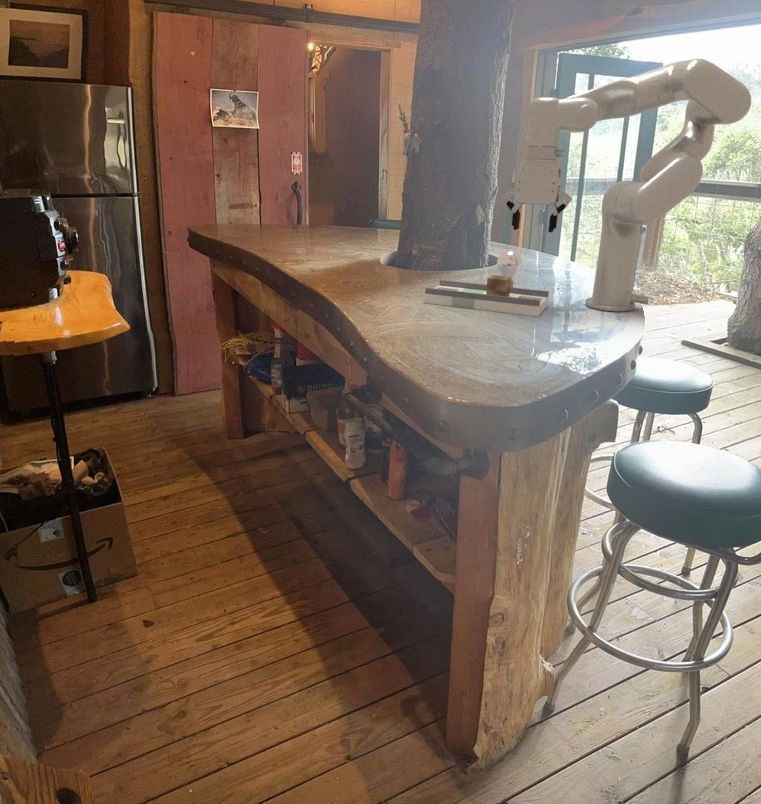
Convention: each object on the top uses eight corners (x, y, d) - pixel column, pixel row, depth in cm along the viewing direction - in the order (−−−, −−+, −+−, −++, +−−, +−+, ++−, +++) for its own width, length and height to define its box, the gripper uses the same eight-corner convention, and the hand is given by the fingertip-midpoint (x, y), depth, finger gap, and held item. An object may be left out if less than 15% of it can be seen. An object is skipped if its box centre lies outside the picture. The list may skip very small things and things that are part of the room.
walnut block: (509, 295, 171) (511, 276, 169) (504, 299, 167) (506, 280, 165) (490, 293, 173) (492, 274, 171) (485, 297, 169) (487, 278, 167)
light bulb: (500, 294, 184) (504, 251, 179) (490, 289, 190) (494, 247, 186) (523, 293, 186) (527, 250, 181) (512, 288, 192) (516, 246, 187)
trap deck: (547, 306, 172) (548, 291, 170) (538, 316, 161) (539, 300, 160) (439, 294, 183) (440, 279, 181) (424, 302, 172) (425, 287, 171)
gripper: (581, 155, 154) (571, 231, 161) (508, 153, 161) (502, 226, 167) (576, 156, 148) (566, 234, 154) (501, 154, 154) (495, 229, 161)
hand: (533, 230), depth 161 cm, fingers open, 8 cm apart
